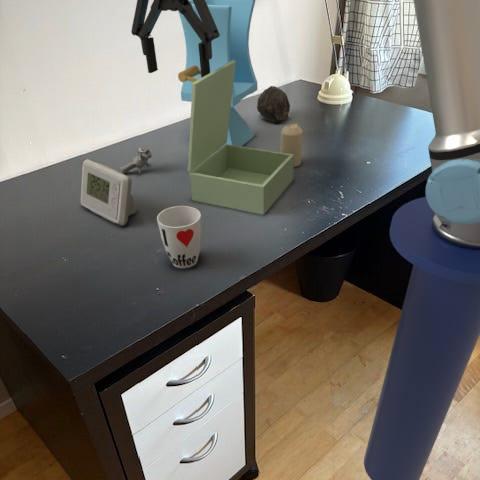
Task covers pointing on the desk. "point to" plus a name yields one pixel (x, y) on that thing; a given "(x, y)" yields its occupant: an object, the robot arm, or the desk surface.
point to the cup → (181, 234)
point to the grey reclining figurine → (138, 161)
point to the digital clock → (106, 192)
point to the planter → (226, 57)
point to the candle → (292, 142)
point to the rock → (273, 104)
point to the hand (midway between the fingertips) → (178, 74)
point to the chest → (242, 178)
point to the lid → (209, 111)
